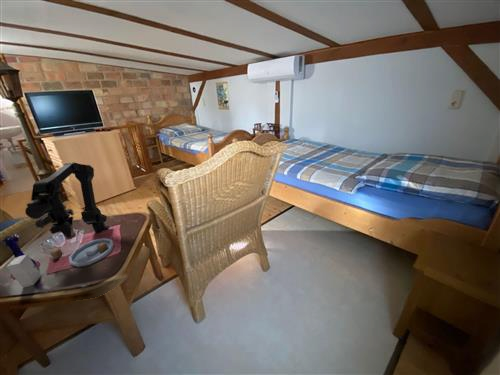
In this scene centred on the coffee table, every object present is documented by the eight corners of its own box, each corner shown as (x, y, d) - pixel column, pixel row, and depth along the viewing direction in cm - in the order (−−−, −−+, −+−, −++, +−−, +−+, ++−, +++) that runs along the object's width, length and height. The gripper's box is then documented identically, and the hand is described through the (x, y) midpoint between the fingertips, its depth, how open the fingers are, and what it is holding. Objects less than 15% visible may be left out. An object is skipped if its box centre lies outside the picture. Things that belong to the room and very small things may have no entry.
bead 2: (78, 234, 103) (75, 228, 101) (70, 239, 99) (67, 233, 98) (71, 234, 103) (68, 228, 102) (63, 239, 99) (60, 233, 98)
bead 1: (56, 254, 106) (53, 249, 105) (65, 252, 107) (62, 247, 105) (51, 260, 103) (47, 254, 101) (60, 258, 103) (57, 252, 102)
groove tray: (83, 246, 111) (80, 242, 110) (119, 239, 114) (117, 235, 112) (63, 271, 95) (60, 267, 93) (105, 263, 98) (103, 259, 96)
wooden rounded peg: (101, 248, 106) (99, 243, 104) (110, 246, 107) (107, 241, 105) (98, 253, 102) (95, 248, 101) (106, 252, 103) (104, 246, 102)
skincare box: (34, 284, 89) (19, 263, 84) (21, 288, 88) (5, 267, 83) (42, 274, 94) (28, 253, 89) (30, 277, 93) (15, 256, 88)
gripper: (37, 205, 98) (52, 232, 104) (25, 222, 83) (44, 252, 89) (67, 198, 103) (79, 224, 109) (60, 212, 89) (75, 242, 95)
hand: (70, 235), depth 101 cm, fingers closed on bead 2, 4 cm apart
